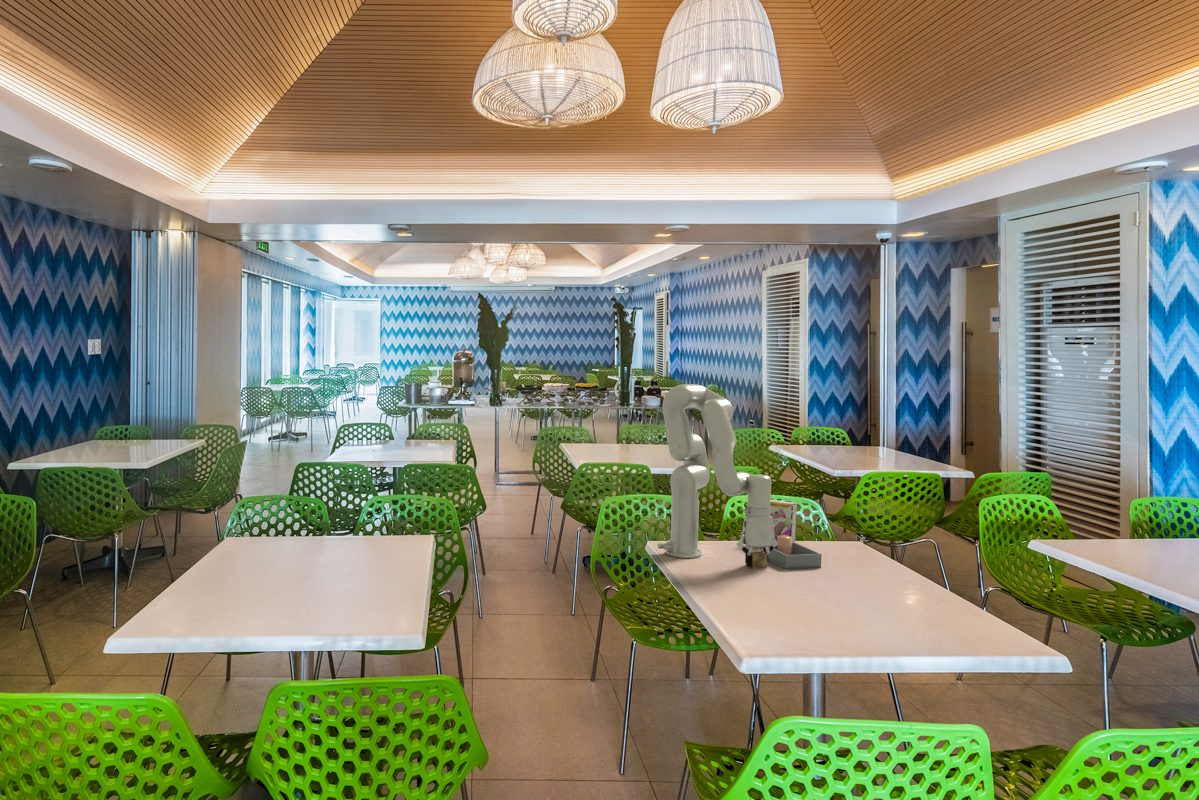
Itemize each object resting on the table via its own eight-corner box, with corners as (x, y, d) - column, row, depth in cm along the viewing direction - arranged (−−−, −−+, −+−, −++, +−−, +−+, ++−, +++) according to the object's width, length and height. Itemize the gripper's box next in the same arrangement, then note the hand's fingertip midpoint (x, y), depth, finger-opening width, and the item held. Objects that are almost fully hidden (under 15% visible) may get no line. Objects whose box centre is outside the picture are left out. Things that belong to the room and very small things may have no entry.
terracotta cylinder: (780, 558, 262) (781, 538, 262) (774, 555, 267) (775, 535, 267) (793, 558, 263) (794, 538, 263) (787, 554, 268) (788, 535, 268)
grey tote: (785, 569, 251) (786, 555, 251) (761, 556, 267) (761, 543, 267) (820, 567, 254) (821, 554, 254) (794, 554, 271) (794, 542, 271)
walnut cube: (753, 569, 250) (753, 554, 250) (746, 565, 255) (746, 550, 254) (766, 568, 251) (767, 553, 251) (759, 564, 256) (760, 550, 256)
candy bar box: (762, 543, 287) (764, 500, 286) (766, 541, 291) (768, 499, 291) (791, 548, 281) (792, 504, 281) (795, 545, 285) (797, 502, 285)
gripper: (740, 514, 246) (738, 570, 247) (787, 513, 251) (785, 567, 252) (730, 510, 253) (728, 564, 254) (775, 509, 258) (773, 561, 259)
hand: (756, 565), depth 253 cm, fingers closed on walnut cube, 5 cm apart
